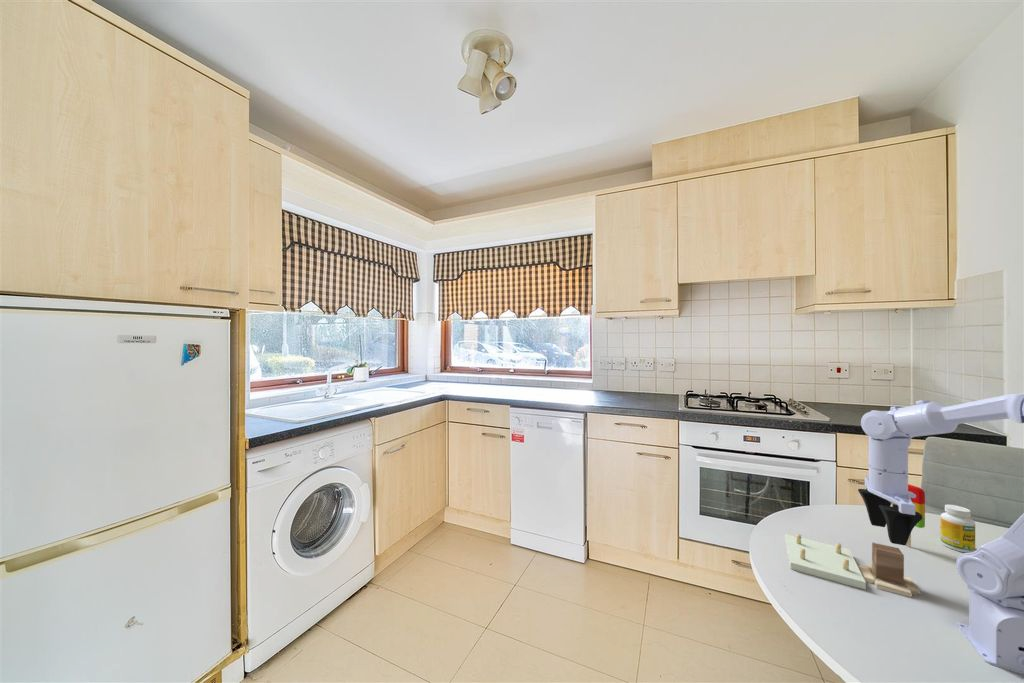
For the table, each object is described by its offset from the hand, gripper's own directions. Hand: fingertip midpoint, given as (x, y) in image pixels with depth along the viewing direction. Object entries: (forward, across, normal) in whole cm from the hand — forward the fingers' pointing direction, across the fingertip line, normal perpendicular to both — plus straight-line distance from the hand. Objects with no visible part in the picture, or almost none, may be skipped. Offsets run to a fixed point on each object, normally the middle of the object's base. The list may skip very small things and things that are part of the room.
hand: (887, 534), depth 75 cm
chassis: (+10, +3, +10) cm, 14 cm away
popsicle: (+10, +19, -12) cm, 25 cm away
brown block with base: (+10, 0, 0) cm, 10 cm away
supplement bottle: (+10, +24, -22) cm, 34 cm away
